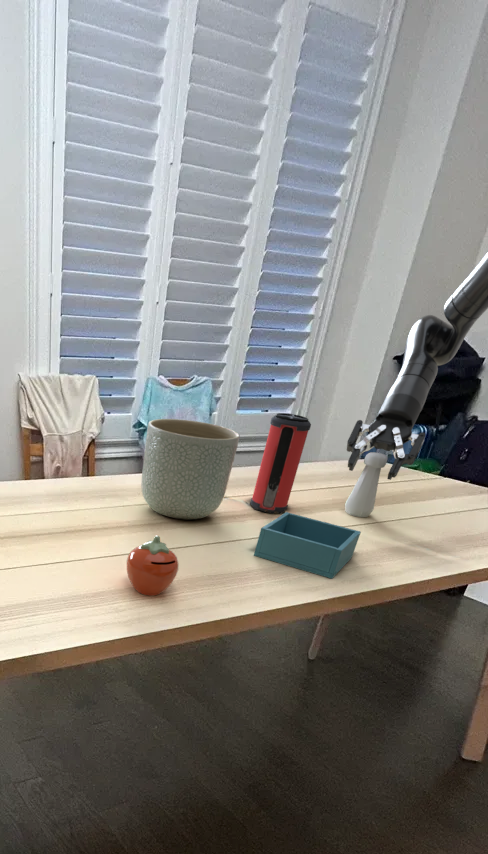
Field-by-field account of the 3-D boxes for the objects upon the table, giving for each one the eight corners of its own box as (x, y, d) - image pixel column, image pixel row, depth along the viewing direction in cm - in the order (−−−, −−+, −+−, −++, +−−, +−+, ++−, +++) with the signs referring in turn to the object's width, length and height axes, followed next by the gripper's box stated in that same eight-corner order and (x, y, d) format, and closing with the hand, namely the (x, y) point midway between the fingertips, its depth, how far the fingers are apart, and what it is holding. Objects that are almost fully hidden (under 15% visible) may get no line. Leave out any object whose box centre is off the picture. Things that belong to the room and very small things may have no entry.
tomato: (137, 603, 87) (146, 546, 83) (114, 581, 93) (121, 527, 88) (183, 598, 90) (194, 544, 86) (157, 578, 95) (167, 525, 91)
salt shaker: (337, 515, 135) (358, 451, 128) (348, 511, 139) (369, 448, 131) (363, 523, 132) (386, 458, 125) (373, 519, 136) (397, 455, 128)
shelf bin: (351, 558, 113) (361, 531, 110) (331, 578, 103) (341, 550, 100) (278, 537, 118) (286, 511, 116) (253, 555, 109) (261, 527, 106)
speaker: (247, 509, 132) (270, 415, 121) (252, 500, 138) (274, 410, 128) (284, 517, 130) (311, 422, 120) (287, 507, 136) (313, 417, 126)
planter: (162, 494, 135) (176, 415, 126) (234, 515, 127) (254, 433, 118) (119, 508, 123) (131, 423, 114) (196, 532, 115) (215, 443, 107)
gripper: (369, 386, 130) (336, 453, 128) (442, 398, 125) (409, 469, 123) (365, 412, 137) (334, 476, 135) (435, 425, 131) (403, 492, 130)
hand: (370, 472), depth 129 cm, fingers open, 7 cm apart
